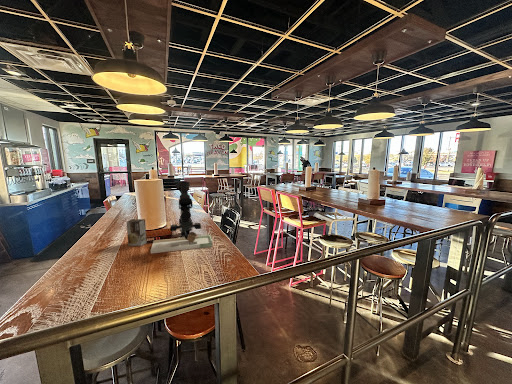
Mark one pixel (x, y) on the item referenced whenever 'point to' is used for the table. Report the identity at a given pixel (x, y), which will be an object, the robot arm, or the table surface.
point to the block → (192, 237)
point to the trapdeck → (180, 244)
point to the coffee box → (136, 232)
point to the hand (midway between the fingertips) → (186, 239)
